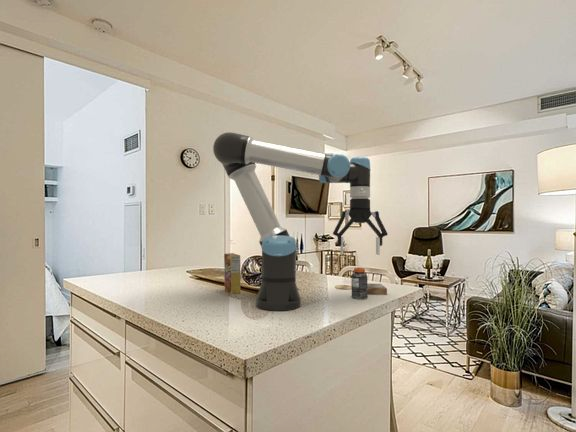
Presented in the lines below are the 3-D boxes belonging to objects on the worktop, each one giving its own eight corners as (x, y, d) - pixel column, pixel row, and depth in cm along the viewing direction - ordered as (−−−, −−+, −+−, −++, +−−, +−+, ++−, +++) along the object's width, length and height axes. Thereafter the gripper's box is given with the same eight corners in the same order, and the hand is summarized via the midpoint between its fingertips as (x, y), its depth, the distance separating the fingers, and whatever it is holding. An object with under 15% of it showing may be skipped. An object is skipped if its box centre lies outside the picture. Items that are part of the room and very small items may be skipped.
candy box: (223, 290, 137) (223, 253, 137) (233, 289, 139) (233, 252, 139) (230, 294, 129) (230, 255, 129) (240, 293, 131) (241, 254, 131)
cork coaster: (336, 289, 140) (336, 288, 140) (333, 285, 148) (333, 284, 148) (354, 289, 140) (354, 288, 140) (351, 286, 148) (351, 284, 148)
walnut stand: (361, 294, 131) (361, 287, 131) (356, 289, 141) (356, 283, 141) (386, 294, 131) (386, 287, 131) (380, 289, 141) (380, 283, 141)
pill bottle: (366, 296, 128) (366, 266, 128) (368, 299, 122) (368, 269, 122) (350, 295, 128) (350, 266, 128) (352, 299, 122) (352, 268, 122)
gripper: (328, 197, 122) (327, 255, 122) (395, 198, 122) (395, 255, 121) (326, 199, 130) (325, 253, 129) (390, 199, 129) (390, 253, 129)
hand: (359, 254), depth 125 cm, fingers open, 13 cm apart
